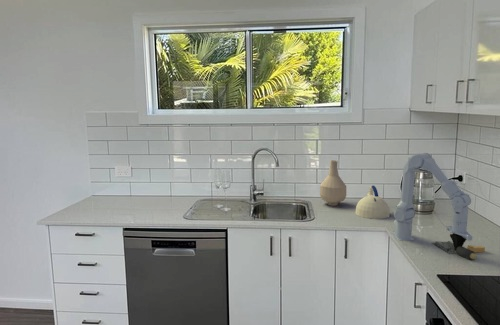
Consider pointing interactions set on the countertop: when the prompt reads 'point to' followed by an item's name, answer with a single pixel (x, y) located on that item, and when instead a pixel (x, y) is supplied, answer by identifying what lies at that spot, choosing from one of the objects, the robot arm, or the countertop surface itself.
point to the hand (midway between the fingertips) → (457, 250)
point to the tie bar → (476, 248)
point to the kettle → (372, 206)
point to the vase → (333, 186)
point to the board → (445, 246)
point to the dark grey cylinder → (465, 253)
